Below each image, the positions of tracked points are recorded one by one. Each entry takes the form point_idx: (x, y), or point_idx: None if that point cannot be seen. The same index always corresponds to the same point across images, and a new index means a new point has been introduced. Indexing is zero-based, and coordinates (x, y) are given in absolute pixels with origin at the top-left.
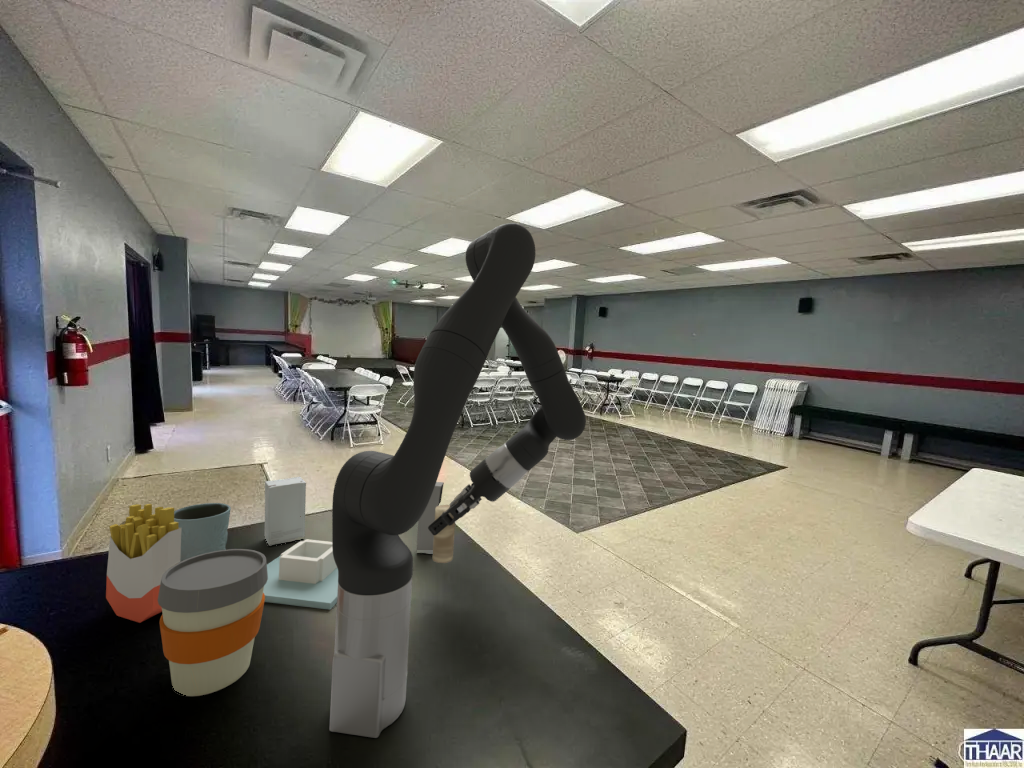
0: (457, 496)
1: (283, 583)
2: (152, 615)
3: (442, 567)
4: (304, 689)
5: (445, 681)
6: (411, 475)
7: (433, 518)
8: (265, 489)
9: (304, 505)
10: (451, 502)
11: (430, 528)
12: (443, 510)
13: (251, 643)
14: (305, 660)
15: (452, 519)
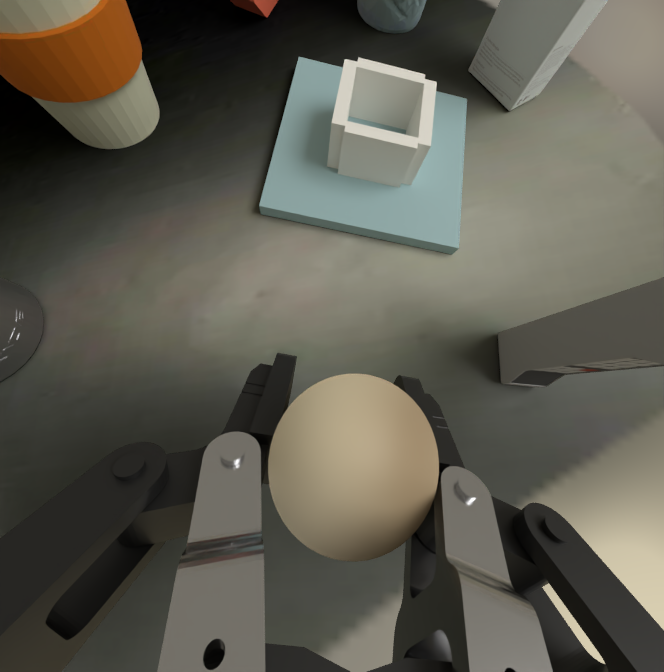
0: (461, 651)
1: (325, 119)
2: (243, 6)
3: (442, 404)
4: (47, 231)
5: (11, 458)
6: None
7: (596, 355)
8: None
9: (573, 12)
10: (184, 597)
11: (259, 366)
12: (293, 447)
13: (75, 112)
14: (118, 214)
15: (132, 546)
